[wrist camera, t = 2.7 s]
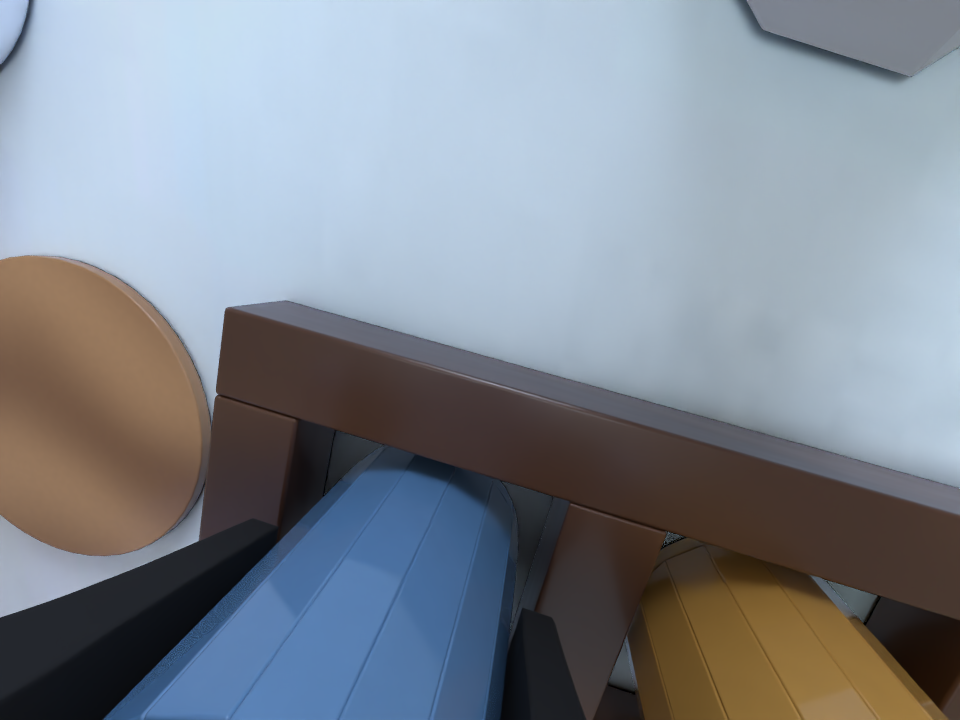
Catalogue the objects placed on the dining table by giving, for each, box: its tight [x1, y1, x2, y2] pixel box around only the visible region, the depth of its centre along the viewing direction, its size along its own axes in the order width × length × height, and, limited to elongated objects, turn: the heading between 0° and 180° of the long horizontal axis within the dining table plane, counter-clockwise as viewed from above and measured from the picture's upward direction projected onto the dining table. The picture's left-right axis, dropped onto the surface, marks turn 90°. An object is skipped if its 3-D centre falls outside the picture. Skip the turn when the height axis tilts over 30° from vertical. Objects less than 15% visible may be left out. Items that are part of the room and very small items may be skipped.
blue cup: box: [103, 445, 518, 720], centre depth 8 cm, size 5×5×8 cm
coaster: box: [0, 255, 211, 556], centre depth 13 cm, size 9×9×1 cm
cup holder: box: [199, 301, 960, 720], centre depth 11 cm, size 10×18×2 cm, turn 76°
